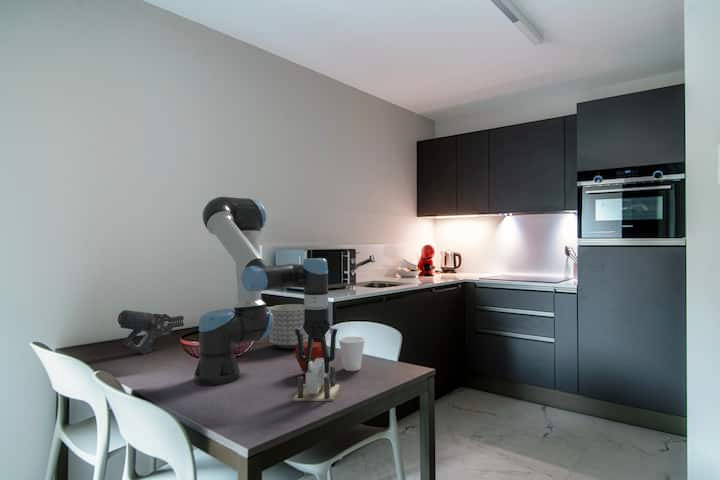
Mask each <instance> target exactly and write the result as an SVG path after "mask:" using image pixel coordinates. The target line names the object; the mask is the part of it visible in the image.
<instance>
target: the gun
mask: <svg viewBox="0 0 720 480" xmlns="http://www.w3.org/2000/svg"><path fill="white" fill-rule="evenodd" d="M184 318H185V317H184V315H177V316H170V315H168V314H167V313H163V314H161V313H153V314H152V313H150V312H142V311H137V310H130V309H124V310H122V311H121V312H119V313H118V316H117V323H118V325H119V326H120V327H119V328H121V329H126V330H127V329H128V330H132V331H131V332H130V333H129V334H128V335H127V337H126V338H125V339H124V341H123V342H122V344H123V345H125V346H127V347H128V348H130V349H132V350H134V351H136V352H138V353H140V354H141V355H147V354H150V353H152V350H153V349H152V348H153V346H154V345H155V343H156V342H157V340H159V339H160V338H161V337H165V336H169V335H170V334H171V332H172V330H173V329H174V328H180V327H181V328H182V327H184V325H185V322H184ZM141 332H144V333H145V335H144V336H143V337H142V339H141V340H140V342H139V343H138V344H134V340H135V338H136V337H137V336H138V334H141Z"/></svg>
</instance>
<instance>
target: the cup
mask: <svg viewBox="0 0 720 480" xmlns="http://www.w3.org/2000/svg"><path fill="white" fill-rule="evenodd" d="M365 341H366V339H365V338H364V337H362V336H344V337H343V336H342V337H340V338H339V339H338V342H339V347H340V351H341V352H340V353H341V358H342V359H341V360H342V364H343V369H344V370H345V371H347V372H357V371H359V370H360V369H361V367H362V361H363V360H362V359H363V355H364V354H363V353H364V347H365Z"/></svg>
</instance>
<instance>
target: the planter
mask: <svg viewBox="0 0 720 480" xmlns="http://www.w3.org/2000/svg"><path fill="white" fill-rule="evenodd" d="M268 309H270V310H271V313H272V314H273V319H274V323H273V329H272V331H271V333H270V334H269V343H271V344H272V345H276V346H277V347H279V348H281V349H285V350H294V349H295V350H296V348H297V347H298V339H297V335H296V333H295V330H296V329H297V328H300V327H303V324H304V310H305V309H306V307H304V303H303V304H301V303H299V304H296V303H295V304H293V303H290V304H280V305H273V306H270V307H269V308H268ZM303 342H308V334H307V333H306V332H305V330H304V333H303Z"/></svg>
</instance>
